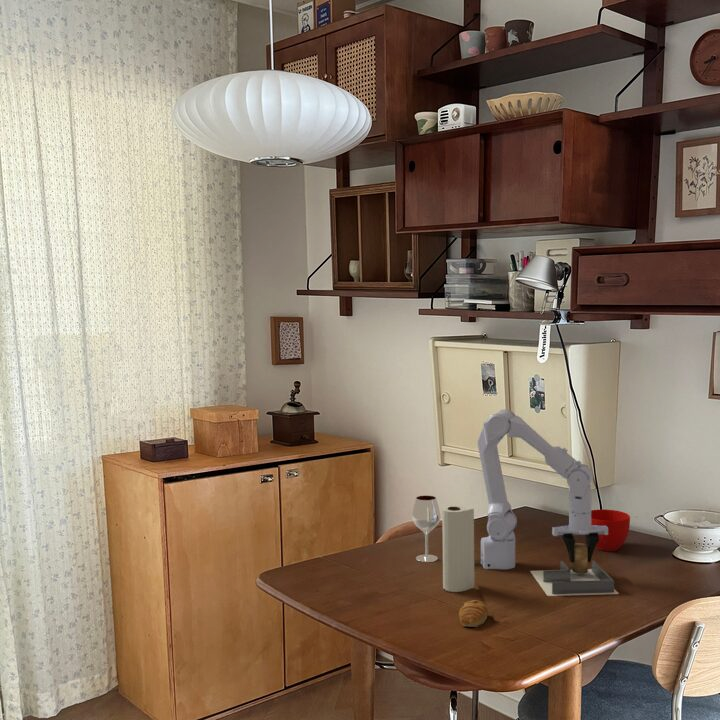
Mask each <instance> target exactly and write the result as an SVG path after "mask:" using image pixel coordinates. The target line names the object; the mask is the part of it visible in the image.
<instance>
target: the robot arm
mask: <svg viewBox="0 0 720 720" xmlns="http://www.w3.org/2000/svg"><path fill="white" fill-rule="evenodd" d="M506 435H507V437H508V438H516V439H517V438H519V439H521V440H523V441H524V442H525V443H526V444H528V445H529V446H531V447H532V448H533V449H535V450H536V451H537V452H538V453H540V454H541V455H543V456H544V461H545V464H547V466H549V467H550V468H551V469H553V470H554V471H555V472H556V473H558V475H560V477H562V478H564V479H566V482H567V484H568V486H569V493H568V494H569V495H568V515H569V516H568V525H561V526H552V527H551V535H552V536H553V537H558V536H561V538H562V539H563V543H564V544H565V547H566V550H567V553H568V559H569V561H570V563H573V562H574V546H575V543H576V539H575V538H574V536H579V535H580V536H583V535H584V536H585V538H584V539H585V544H586V545H588V563H592V558H593V554H594V552H595V549H596V545H597V543H598V542H599V536H598V534H604V535H608V527H607V526H597V525H591V510H592V486H591V483H592V481H593V479H594V476H593V471H592V470H591V468H590V467H589V466H588V465H587V464H585V463H582V462H581V461H580V460H577V459H575V458H574V457H573V456H572V455H571V454H569V453H568V449H567V448H565V447H563V448H562V447H561V446H560V445H559V446H552V445H551V444H550V443H549V442H548V441H547V440H545V438H543V437H542V435H540V434H539V433H538V432H537V431H536V430H535V429H533V428H532V427H531V425H529V424H528V423H527V422H526V421H525V420H523V418H522V417H521V416H519V415H516V413H514V412H513V411H512V410H510V409H505V408H504V409H500V410H499V411H498V412H496V413H493V414H491V415H489V417H488V418H487V419H486V420H485V421H484V422H483V424H482V429H481V432H480V433H479V436H478V440H477V448H478V453H479V459H480V463H481V468H482V474H483V479H484V486H485V491H486V495H487V501H488V510H487V523H486V531H487V533H488V536H486V537H485V536H484V537H481V539H480V565H482V567H483V569H484V570H512V569H514V568H515V567H516V534H515V533H514V530H515V528H516V527H517V524H518V520H517V519H518V518H517V516H516V514H515V513H514V512H513V510H512V505H511V503H510V502H509V501H508V496H507V492H506V488H505V481H504V475H503V471H502V466H501V465H502V464H501V461H500V460H501V459H500V455H499V450H498V444H499V443H500V442H501V441H502V439H503V438H504V437H505V436H506Z"/></svg>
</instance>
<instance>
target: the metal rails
mask: <svg viewBox="0 0 720 720" xmlns="http://www.w3.org/2000/svg"><path fill="white" fill-rule="evenodd" d="M559 563H560V565H559V569H547V570H546V569H545V570H542V571H543V582H552V594H581V593H614V589H615V580H614V579H613V578H612V577H611V576H610V575H609V574H608V573H607V572H606V571H605V570H604V569H603V568H602V567H601V565H599V564H598V562H597V561H596V560H594V559H591V569H592V572H593V573H594V574H595V575H596V576H597V577H598V578H599V579H600V580H599V581H570V570H571V569H570V568H569V566H567V564H566V563H565V561H563V560H560V562H559Z"/></svg>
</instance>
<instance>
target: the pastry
mask: <svg viewBox="0 0 720 720" xmlns="http://www.w3.org/2000/svg"><path fill="white" fill-rule="evenodd" d="M489 613H490V611H489V610H488V608H487V606H486V605H485V603H484V602H482V601H480V600H477V599H474V600H473V599H472V600H470V601H469V600H468V601H466V602H465V603H464V604H463V606H462V607H460V609H459V611H458V619H459V622H460V625H461V626H462V627H471V628H472V627H473V628H478V627H479V626H481V625H483V624H485V622H486V620H487V618H488V615H489ZM478 625H479V626H478Z"/></svg>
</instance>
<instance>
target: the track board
mask: <svg viewBox="0 0 720 720" xmlns="http://www.w3.org/2000/svg"><path fill="white" fill-rule="evenodd" d="M529 572H530V574H531V575H532V576H533V578H534V579H535V581H536V583H538V585H539V586H540V587H541V589H542V590H543V592H544V593H545V594H546V596H548V597H559V596H561V597H562V596H594V595H595V596H596V595H597V596H599V595H619V594H620V593H619V592H618V591H617V589H615V588H614V593H581V594H552V582H543V570H529ZM599 580H600V579H599V578H598V577H597V576H596V575H595V574H594V573H593V572H592V568H588V572H587V573H583V574H581V573H575V572H573V571H572V569H570V581H599Z"/></svg>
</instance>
